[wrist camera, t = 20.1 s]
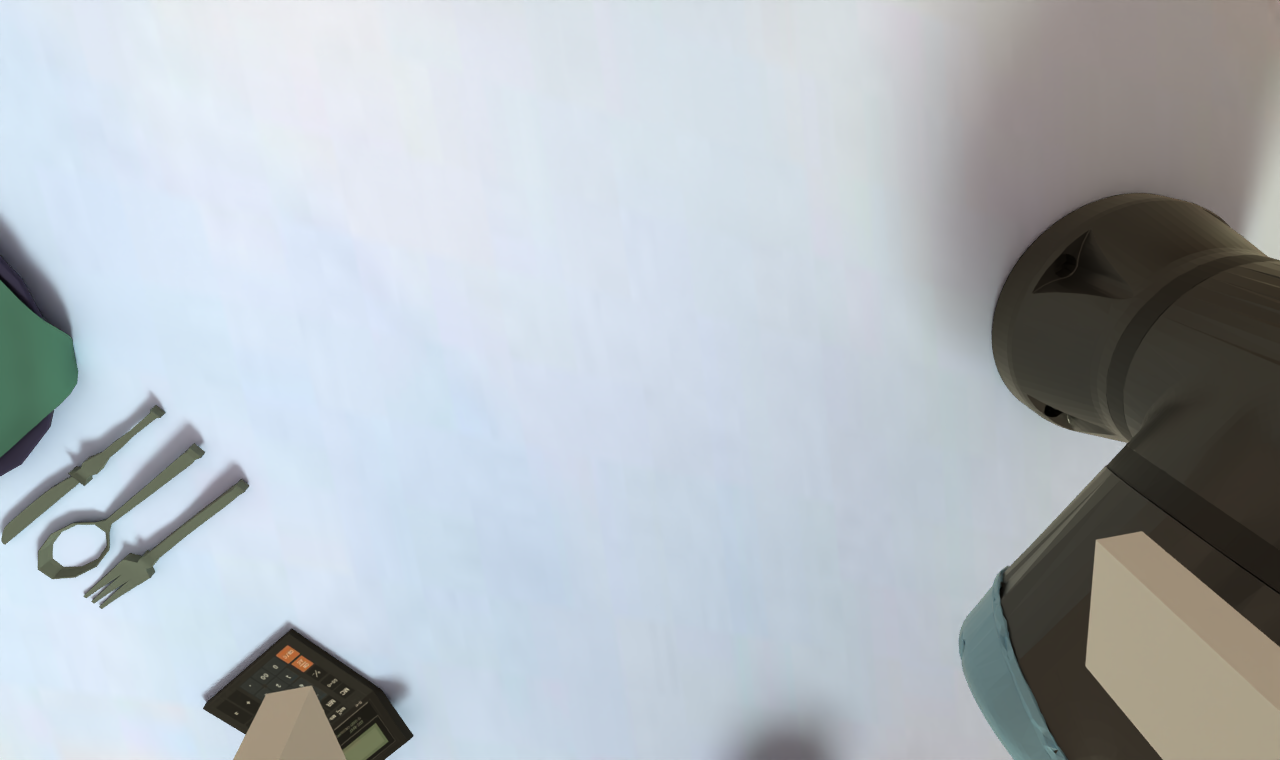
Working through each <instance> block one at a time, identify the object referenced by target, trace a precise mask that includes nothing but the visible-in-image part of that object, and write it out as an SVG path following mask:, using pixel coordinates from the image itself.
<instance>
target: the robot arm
mask: <svg viewBox="0 0 1280 760" xmlns="http://www.w3.org/2000/svg"><path fill="white" fill-rule="evenodd" d="M992 348H993V355H994V359H995V363H996V366H997V369H998V372H999V374H1000V376H1001V378H1002V380H1003V382H1004V383H1005V385H1006V386H1007V388H1008V389H1009V391H1010V392H1011V393H1012V394H1013V395H1014V396H1015V397H1016V398H1017V399H1018V400H1019V401H1021V402H1022V403H1023V404H1024V405H1026V406H1027V407H1029V408H1030V409H1031V410H1033V411H1034V412H1035V413H1037V414H1038V415H1039V416H1041V417H1042V418H1044V419H1046V420H1047V421H1049V422H1051V423H1053V424H1055V425H1058V426H1060V427H1063V428H1066V429H1069V430H1072V431H1077V432H1081V433H1086V434H1090V435H1095V436H1099V437H1104V438H1108V439H1113V440H1117V441H1121V442H1126V443H1127V444H1126V446H1125V447H1124V448H1123V449H1122V450H1121V451H1120V452H1119V453H1118V454H1117V455H1116V456H1115V457H1114V458H1113V459H1112V461H1111V462H1110V463H1109V464H1108V465H1106V466H1105V467H1104V468H1103V469H1102V470H1101V471H1100V472H1099V473H1098V474H1097V475H1096V477H1095V478H1094V479H1093V480H1092V481H1091V482H1090V483H1089V484H1088V485H1087V486H1086V487H1085V488H1084V489H1083V490H1082V491H1081V492H1080V494H1079V495H1078V496H1077V497H1076V498H1075V499H1074V500H1073V501H1072V502H1071V503H1070V504H1069V505H1068V506H1067V507H1066V508H1065V509H1064V510H1063V512H1062V513H1061V514H1060V515H1059V516H1058V517H1057V518H1056V519H1055V520H1054V521H1053V522H1052V523H1051V524H1050V525H1049V526H1048V527H1047V529H1046V530H1045V531H1044V532H1043V533H1042V534H1041V535H1040V536H1039V537H1038V538H1037V539H1036V540H1035V541H1034V542H1033V543H1032V544H1031V545H1030V547H1029V548H1028V549H1027V550H1026V551H1025V552H1024V553H1023V554H1022V555H1021V556H1020V557H1019V558H1018V559H1017V560H1016V561H1015V562H1014V563H1013V564H1012V565H1011V566H1006V567H1005V568H1004V569H1002V570H1001V571H1000V573H999V574H997V576H996V578H995V580H994V583H993V586H992V587H991V588H990V589H989V591H988V592H987V593H986V594H985V596H984V597H983V598H982V599H981V600H980V602H979V603H978V604H977V605H976V606H975V608H974V609H973V610H972V611H971V612H970V613H969V614H968V616H967V617H966V619H965V620H964V622H963V624H962V627H961V630H960V634H959V654H960V657H961V660H962V668H963V673H964V675H965V678H966V681H967V683H968V686H969V688H970V690H971V692H972V695H973V697H974V699H975V701H976V703H977V704H978V706H979V708H980V710H981V712H982V713H983V715H984V717H985V719H986V720H987V722H988V723H989V725H990V727H991V728H992V730H993V731H994V733H995V734H996V736H997V737H998V739H999V740H1000V741H1001V743H1002V744H1003V746H1004V747H1005V748H1006V750H1007V751H1008V752H1009V754H1010V755H1011V756H1012V758H1013V759H1014V760H1280V260H1276V259H1273V258H1270V257H1268V256H1266V255H1265V254H1264V253H1263V252H1261V251H1260V250H1259V249H1258V248H1256V247H1255V246H1254V245H1253V244H1251V243H1250V242H1249V241H1248V240H1246V239H1245V238H1244V237H1242V236H1241V235H1240V234H1238V233H1237V232H1236V231H1234V230H1233V229H1232V228H1231V227H1230V226H1229V225H1228V224H1227V223H1226V222H1225V221H1224V220H1222V219H1221V218H1220V217H1219V216H1217V215H1216V214H1214V213H1213V212H1211V211H1209V210H1207V209H1205V208H1203V207H1201V206H1199V205H1196V204H1193V203H1191V202H1187V201H1183V200H1179V199H1174V198H1170V197H1165V196H1161V195H1155V194H1147V193H1131V194H1122V195H1116V196H1111V197H1107V198H1104V199H1101V200H1098V201H1095V202H1092V203H1090V204H1088V205H1085V206H1083V207H1081V208H1079V209H1077V210H1075V211H1073V212H1072V213H1070V214H1068V215H1067V216H1065V217H1063V218H1062V219H1061V220H1059V221H1058V222H1056V223H1055V224H1054V225H1052V226H1051V227H1050V228H1049V229H1047V230H1046V231H1045V232H1044V233H1043V234H1042V235H1041V236H1040V237H1039V238H1038V239H1037V240H1036V241H1035V242H1034V243H1033V244H1032V245H1031V246H1030V247H1029V248H1028V249H1027V250H1026V252H1025V253H1024V254H1023V255H1022V257H1021V258H1020V259H1019V261H1018V262H1017V264H1016V265H1015V267H1014V268H1013V270H1012V272H1011V273H1010V275H1009V277H1008V279H1007V281H1006V283H1005V285H1004V287H1003V289H1002V291H1001V294H1000V297H999V300H998V303H997V306H996V310H995V314H994V319H993V327H992ZM233 760H346V758H345V756H344V753H343V751H342V749H341V747H340V745H339V743H338V741H337V738H336V736H335V734H334V732H333V730H332V728H331V726H330V723H329V721H328V719H327V717H326V715H325V713H324V711H323V708H322V706H321V704H320V702H319V700H318V698H317V696H316V693H315V691H314V689H313V687H312V686H307V687H301V688H296V689H291V690H285V691H280V692H274V693H269V694H266V696H265V698H264V700H263V702H262V704H261V706H260V708H259V710H258V712H257V714H256V716H255V718H254V720H253V722H252V723H251V725H250V727H249V729H248V731H247V733H246V735H245V737H244V739H243V741H242V743H241V745H240V747H239V749H238V751H237V753H236V755H235V757H234V759H233Z"/></svg>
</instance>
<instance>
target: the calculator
mask: <svg viewBox="0 0 1280 760" xmlns="http://www.w3.org/2000/svg"><path fill="white" fill-rule="evenodd" d="M307 686H312V687H313V689H314V691H315V693H316V696H317V698H318V700H319V702H320V704H321V706H322V708H323V711H324V713H325V715H326V717H327V719H328V721H329V723H330V726H331V728H332V730H333V732H334V734H335V736H336V738H337V741H338V743H339V745H340V747H341V749H342V751H343V753H344V756H345V758H346V760H385V759H386V758H387V757H388V756H390V755H391V754H392V753H393V752H395V751H396V750H397V749H398V748H400V747H401V746H402V745H404V744H405V743H406V742H407V741H409V740H410V739H411V738H412V737H413V734H412V733H411V731H410V730H409V728H408V727H407V726H406V724H405V723H404V721H403V720H402V718H401V717H400V716H399V714H398V713H397V711H396V710H395V708H394V707H393V706H392V704H391V703H390V701H389V700H388V698H387V697H386V696H385V694H384V693H383V691H382V690H381V689H380V688H378V687H377V686H375V685H374V684H372V683H371V682H370V681H368V680H367V679H365V678H364V677H362V676H361V675H359V674H358V673H356V672H355V671H353V670H352V669H350V668H349V667H347V666H346V665H345V664H343V663H342V662H340V661H339V660H337V659H336V658H334V657H333V656H331V655H330V654H328V653H327V652H325V651H324V650H322V649H321V648H320V647H318V646H317V645H315V644H314V643H312V642H311V641H309V640H308V639H306V638H305V637H303V636H302V635H300V634H299V633H297V632H296V631H294V630H293V629H291V630H290V631H289V632H287V633H286V634H285V635H284V636H283V637H282V638H281V639H279V640H278V641H277V642H276V643H275V644H274V645H272V646H271V647H270V648H269V649H268V650H267V651H265V652H264V653H263V654H262V655H261V656H260V657H259V658H257V659H256V660H255V661H254V662H253V663H252V664H250V665H249V666H248V667H247V668H246V669H245V670H244V671H242V672H241V673H240V674H239V675H238V676H237V677H235V678H234V679H233V680H232V681H231V682H230V683H228V684H227V685H226V686H225V687H224V688H223V689H222V690H220V691H219V692H218V693H217V694H216V695H215V696H213V697H212V698H211V699H210V700H209V701H208V702H207V703H206V704H205V706H204V708H203V709H204V710H206V711H208V712H209V713H211V714H213V715H214V716H216V717H217V718H219V719H221V720H222V721H224V722H226V723H227V724H229V725H231V726H232V727H234V728H236V729H237V730H239V731H241V732H242V733H244V734H246V733H247V731H248V729H249V727H250V725H251V723H252V722H253V720H254V718H255V716H256V714H257V712H258V710H259V708H260V706H261V704H262V702H263V700H264V698H265V696H266V694H269V693H274V692H280V691H285V690H291V689H296V688H301V687H307Z"/></svg>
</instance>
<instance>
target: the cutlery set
mask: <svg viewBox="0 0 1280 760" xmlns="http://www.w3.org/2000/svg"><path fill="white" fill-rule="evenodd" d="M77 378H78V368H77V364H76V360H75V355H74V349H73V340H72V338H71V337H70V336H69V335H68V334H66V333H64V332H63V331H61V330H59V329H57V328H56V327H54V326H52V325H51V324H49V323H47V322H45V320H44V318H43V316H42V315H41V313H40V311H39V309H38V307H37V305H36V303H35V302H34V300H33V298H32V296H31V294H30V292H29V290H28V289H27V287H26V285H25V283H24V281H23V279H22V278H21V277H20V276H19V275H18V274H17V273H16V272H15V271H14V270H13V269H12V268H11V267H10V266H9V264H8V263H7V262H6V261H5V260H4V259H3V258H2V257H1V256H0V476H2V475H4V474H5V473H7V472H9V471H11V470H12V469H14V468H16V467H18V466H19V465H21V464H22V463H23V462H24V461H25V459H26V458H27V457H28V455H29V454H30V453H31V451H32V450H33V449H34V448H35V446H36V445H37V444H38V442H39V441H40V440H41V438H42V437H43V436H44V434H45V433H46V432H47V431H48V429H49V428H50V426H51V422H52V417H53V413H54V409H55V408H56V407H58V406H59V405H60V404H61V403H62V402H63V401H64V400H65V399H66V398H67V397H68V396H69V395H70V393H71V392H72V390H73V389H74V387H75V385H76V384H77ZM150 412H151V413H150V414H148V415H147V416H146V417H145V418H144V419H143V420H142V421H140V422H139V423H138V424H137V425H136V426H135V427H134V428H133V429H131V430H130V431H129V432H128V433H126V434H125V435H123V436H122V437H121V438H119V439H118V440H116V441H115V442H114V443H113V444H111V445H110V446H109V447H108V448H107V449H105V450H104V451H103V452H101V453H98V454H96V455H94V456H91V457H89V458H88V459H87V460H86V461H84V462H83V463H82V466H81V467H80V466H76V467H75V468H74V469H73V470H72V471H71V472H69V473H68V474H69V475H70V476H71V477H69V478H67V479H65V480H64V481H62V482H60V483H59V484H57V485H55V486H54V487H52V488H51V489H49V490H48V491H47V492H45V493H44V494H43V495H42V496H40V497H39V498H38V499H37V500H35V501H34V502H33V503H32V504H31V505H29V506H28V507H27V508H26V509H25V510H24V511H22V512H21V513H20V514H19V515H18V516H17V517H16V518H14V519H13V520H12V521H11V522H10V523H9V524H8V525H7V526H6V527H5V528H4V531H3V533H2V543H3V544H6V543H8V542H9V541H10V540H11V539H12V538H14V537H15V536H16V535H17V534H18V533H20V532H21V531H22V530H23V529H24V528H26V527H27V526H28V525H29V524H30V523H32V522H33V521H34V520H35V519H36V518H38V517H39V516H40V515H41V514H42V513H44V512H45V511H46V510H47V509H48V508H50V507H51V506H52V505H53V504H54V503H56V502H57V501H58V500H59V499H60V498H62V497H63V496H64V495H65V494H66V493H68V492H69V491H70V490H71V489H72V488H74V487H75V486H76V485H77V484H78V483H81V484H82V485H84V486H85V485H86V484H87V483H88V482H89V481H91V480H92V479H93V478H92V475H95V474H98V473H99V472H100V471H101V470H102V469H103V468H104V466H105V465H106V463H107V461H108V460H109V458H110V457H111V456H112V455H113V454H115V453H116V452H117V451H118V450H119V449H121V448H122V447H123V446H124V445H125V444H126V443H127V442H128V441H129V440H130V439H131V438H132V437H133V436H134V435H135V434H137V433H138V432H139V431H141V430H142V429H143V428H144V427H146V426H147V425H148V424H149V423H151V422H152V421H153V420H155V419H156V418H161V417H162V416H163V415H164V414H165V412H164V411H163V410H162V409H160V408H159V407H158V406H157V405H155V406H154V407H153V408H152V409H151V410H150ZM204 453H205V452H204V451H203V450H202V449H201V448H200V447H198V446H197V445H196V444H195V443H194V444H193V445H192V446H191V447H190V448H189V449H188V450H187V451H186V452H185V453H183V454H182V455H181V456H180V457H179V458H178V459H176V460H175V461H174V462H173V463H172V464H171V465H170V466H168V467H167V468H166V469H165V470H164V471H163V472H161V473H160V474H159V475H158V476H157V477H156V478H154V479H153V480H152V481H151V482H150V483H149V484H148V485H146V486H145V487H144V488H143V489H142V490H141V491H139V492H138V493H137V494H136V495H135V496H133V497H132V498H131V499H130V500H129V501H128V502H126V503H125V504H124V505H123V506H122V507H121V508H120V509H118V510H117V511H116V512H115V513H114V514H112V515H111V516H110V517H109V518H108V519H105V520H102V521H98V522H75V523H72V524H70V525H68V526H66V527H64V528H62V529H60V530H58V531H56V532H54V533H52V534H51V535H50V536H49V537H48V539H47V540H46V542H45V543H44V544H43V546H42V547H41V548H40V550H39V551H38V570H39V571H41V572H42V573H44V574H45V575H47V576H48V577H50V578H51V579H60V578H73V577H77V576H79V575H81V574H83V573H85V572H87V571H89V570H91V569H93V568H95V567H97V565H98V564H99V563H100V562H101V560H102V559H103V558H104V556H105V555H106V554H107V552H108V551H109V548H110V539H109V532H110V528H111V525H112V523H114V522H115V521H116V520H118V519H119V518H120V517H122V516H123V515H124V514H126V513H127V512H128V511H130V510H131V509H132V508H134V507H135V506H136V505H138V504H139V503H140V502H142V501H143V500H145V499H146V498H147V497H149V496H150V495H151V494H153V493H154V492H155V491H157V490H158V489H159V488H160V487H162V486H163V485H164V484H166V483H167V482H168V481H170V480H171V479H172V478H174V477H175V476H176V475H178V474H179V473H180V472H182V471H183V470H184V469H186V468H187V467H188V466H190V465H191V464H192V463H193V462H194V461H195V460H196V459H198V458H201V457H202V456H203V455H204ZM248 487H249V485H248V484H247V483H246V482H244V481H243V480H242V479H241V480H240V481H239V482H238V483H237V484H235V485H234V486H232V487H231V488H230V489H229V490H227V491H226V492H225V493H223V494H222V495H221V496H220V497H218V498H217V499H216V500H214V501H213V502H212V503H210V504H209V505H208V506H206V507H205V508H204V509H202V510H201V511H200V512H199V513H197V514H196V515H195V516H193V517H192V518H191V519H190V520H188V521H187V522H186V523H184V524H183V525H182V526H181V527H179V528H178V529H177V530H176V531H174V532H173V533H172V534H171V535H169V536H168V537H167V538H166V539H164V540H163V541H162V542H161V543H160V544H158V545H157V546H156V547H154V548H153V549H152V550H151V551H149V550H147V551H146V552H145V553H144V554H143V556H140V555H136V554H132V553H130V554H129V555H127V556H126V557H125V558H124V559H123V560H122V561H121V562H120V563H119V564H118V565H117V566H116V567H114V568H113V569H112V570H111V571H110V572H109V573H108V574H107V575H106V576H105V577H103V578H102V579H101V580H100V581H99V582H98V583H97V584H96V585H95V586H94V587H93V588H91V589H90V590H89V591H88V592H87V593H86V594H85V595H84V597H85V598H87V597H89V596H90V595H91V594H93V593H94V592H96V591H97V590H98V589H100V588H101V587H103V586H104V585H106V584H108V583H109V582H111V581H112V580H114V579H115V578H116V579H115V580H114V581H113V582H112V583H111V584H110V585H109V586H108V587H106V588H105V589H104V590H103V591H102V592H101V593H100V594H99V595H98V596H97V597H95V598H94V599H93V600H92V601H91V602H93V603H96V602H97V601H98V600H100V599H101V598H103V597H104V596H105V595H107V594H108V593H110V592H111V591H113V590H115V589H116V588H118V587H119V586H121V585H122V584H124V583H125V584H124V585H122V586H121V587H120V588H119V589H118V590H117V591H116V592H115V593H114V594H113V595H111V596H110V597H109V598H108V599H107V600H106V601H105V602H104V603H103V604H101V605H100V608H101V609H102V608H104V607H105V606H107V605H108V604H109V603H111V602H112V601H114V600H115V599H117V598H118V597H120V596H121V595H123V594H125V593H126V592H128V591H129V590H131V589H133V588H134V587H136V586H137V585H139V584H141V583H143V582H144V581H146V580H147V579H149V578H151V577H152V575H153V574H154V573H155V570H154V568H153V566H154V564H155V563H156V562H157V561H158V559H159V558H160V557H161V556H162V555H164V554H165V553H166V552H167V551H169V550H170V549H171V548H172V547H173V546H175V545H176V544H177V543H178V542H179V541H181V540H182V539H183V538H185V537H186V536H187V535H188V534H190V533H191V532H192V531H194V530H195V529H196V528H197V527H199V526H200V525H201V524H203V523H204V522H205V521H207V520H208V519H209V518H211V517H212V516H213V515H215V514H216V513H217V512H219V511H220V510H221V509H223V508H224V507H225V506H226V505H228V504H229V503H230V502H232V501H233V500H234V499H235V498H236V497H237V496H239V495H240V494H242V493H244V492H245V491H246V489H247V488H248ZM75 525H96V526H97V527H99V528H100V529H102V530H103V531H104V532H106V540H107V546H106V548H105V550H104V551H103V552H102V554H101V555H100V557H99V558H98V559H96V560H94V561H92V562H90V563H88V564H86V565H84V566H78V567H63V566H62V565H60V564H59V563H58V562H57V561H55V560H54V559H53V543H54V542H55V540H56V539H57V538H58V536H59V535H60V534H61V532H62V531H64V530H67V529H69V528H71V527H73V526H75ZM118 576H119V577H118Z"/></svg>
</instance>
